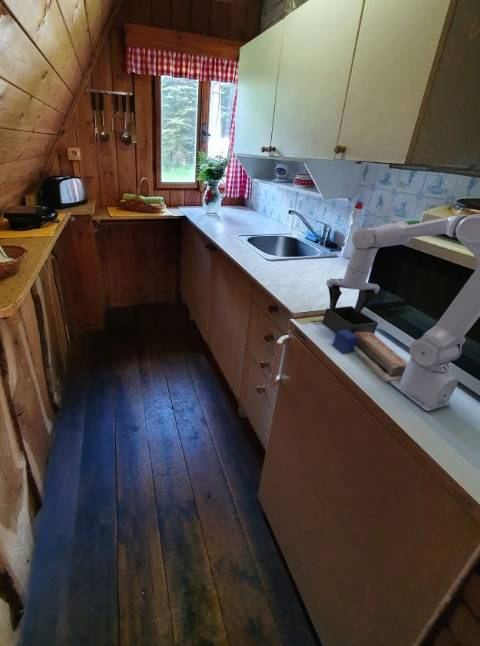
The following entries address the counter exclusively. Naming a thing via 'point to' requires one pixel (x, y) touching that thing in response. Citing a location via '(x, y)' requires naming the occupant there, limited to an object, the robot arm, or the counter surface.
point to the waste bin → (348, 320)
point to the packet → (345, 341)
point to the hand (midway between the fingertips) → (344, 310)
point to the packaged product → (379, 357)
